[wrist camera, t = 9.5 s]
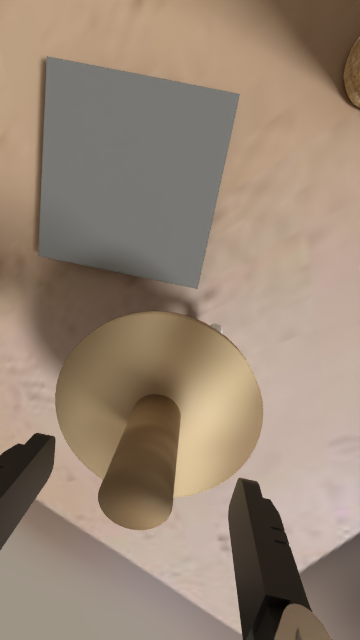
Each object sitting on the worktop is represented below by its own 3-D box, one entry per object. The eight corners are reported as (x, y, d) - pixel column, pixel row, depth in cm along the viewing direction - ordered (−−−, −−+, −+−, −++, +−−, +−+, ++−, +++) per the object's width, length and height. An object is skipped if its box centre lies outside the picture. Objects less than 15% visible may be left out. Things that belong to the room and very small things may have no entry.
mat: (237, 104, 15) (239, 94, 14) (197, 287, 18) (197, 288, 17) (56, 69, 15) (46, 56, 14) (46, 256, 18) (38, 255, 17)
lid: (285, 334, 13) (355, 393, 7) (231, 502, 16) (251, 635, 10) (69, 291, 13) (-27, 316, 7) (57, 465, 16) (-18, 575, 10)
